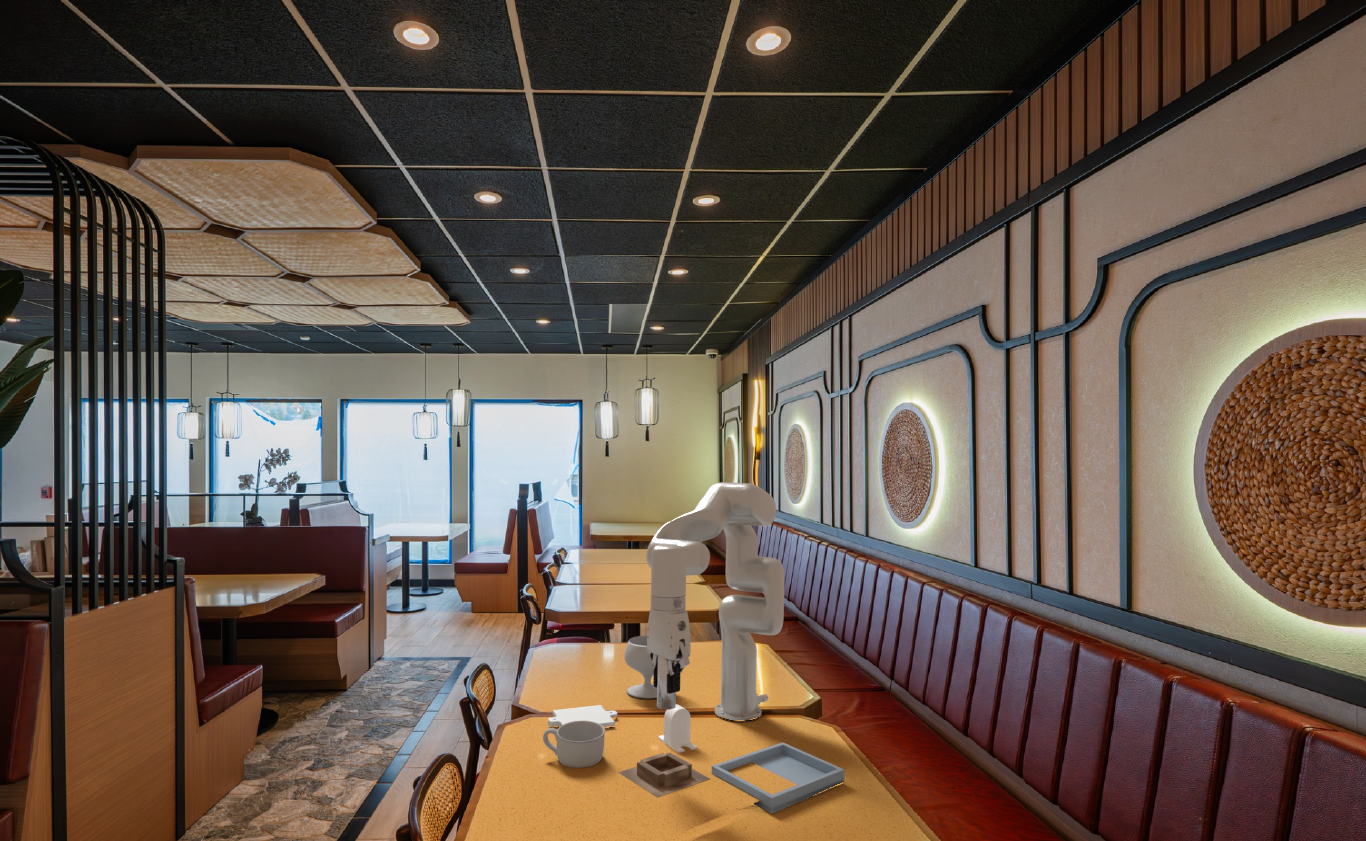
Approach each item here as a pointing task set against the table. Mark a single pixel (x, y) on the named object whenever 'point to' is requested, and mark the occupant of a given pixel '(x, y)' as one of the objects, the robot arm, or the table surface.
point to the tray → (783, 775)
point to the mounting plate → (583, 716)
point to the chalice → (640, 667)
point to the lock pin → (664, 686)
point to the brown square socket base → (663, 774)
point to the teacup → (577, 743)
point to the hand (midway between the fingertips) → (666, 688)
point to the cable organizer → (677, 729)
